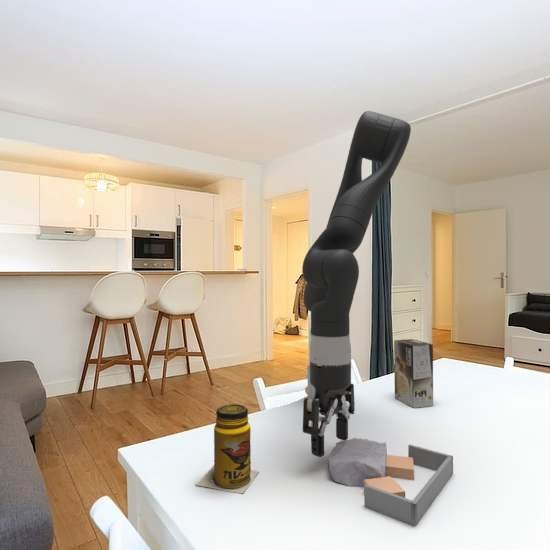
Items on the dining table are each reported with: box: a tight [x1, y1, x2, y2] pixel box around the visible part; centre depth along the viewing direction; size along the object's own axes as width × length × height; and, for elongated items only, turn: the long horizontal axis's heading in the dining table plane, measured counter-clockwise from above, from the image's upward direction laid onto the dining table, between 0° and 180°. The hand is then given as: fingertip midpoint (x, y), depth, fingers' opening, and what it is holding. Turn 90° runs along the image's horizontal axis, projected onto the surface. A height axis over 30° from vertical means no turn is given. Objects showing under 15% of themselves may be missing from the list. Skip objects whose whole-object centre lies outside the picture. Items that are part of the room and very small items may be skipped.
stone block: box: [327, 437, 388, 488], centre depth 70 cm, size 12×5×10 cm
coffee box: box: [393, 338, 434, 409], centre depth 106 cm, size 9×6×16 cm
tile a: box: [364, 476, 406, 498], centre depth 61 cm, size 4×4×2 cm
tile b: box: [386, 453, 415, 481], centre depth 69 cm, size 4×4×2 cm
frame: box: [363, 444, 454, 527], centre depth 63 cm, size 8×18×3 cm, turn 141°
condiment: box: [194, 403, 260, 494], centre depth 67 cm, size 7×8×12 cm
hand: (330, 446), depth 73 cm, fingers open, 8 cm apart
